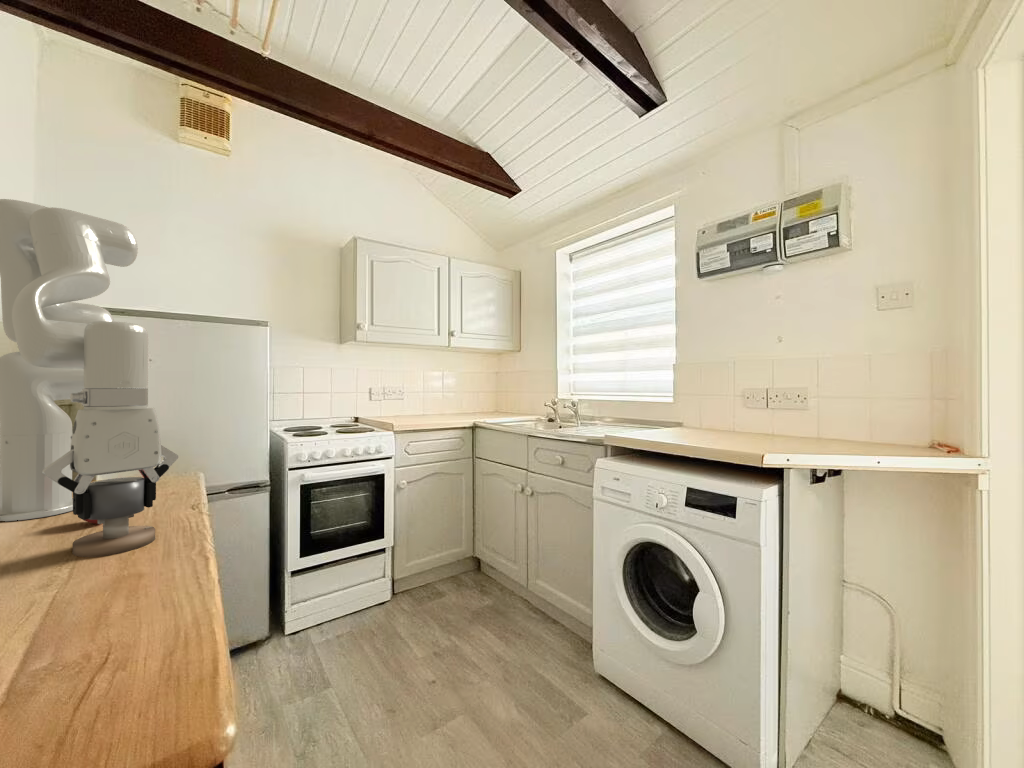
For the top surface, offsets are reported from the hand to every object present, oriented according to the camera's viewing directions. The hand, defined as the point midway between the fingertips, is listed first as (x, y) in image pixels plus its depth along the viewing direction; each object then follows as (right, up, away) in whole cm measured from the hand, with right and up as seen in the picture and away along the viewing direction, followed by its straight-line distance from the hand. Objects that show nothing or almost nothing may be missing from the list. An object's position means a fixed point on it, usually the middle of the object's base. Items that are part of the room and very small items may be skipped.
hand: (116, 511), depth 67 cm
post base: (0, -5, 0) cm, 5 cm away
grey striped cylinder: (0, 0, +1) cm, 1 cm away
